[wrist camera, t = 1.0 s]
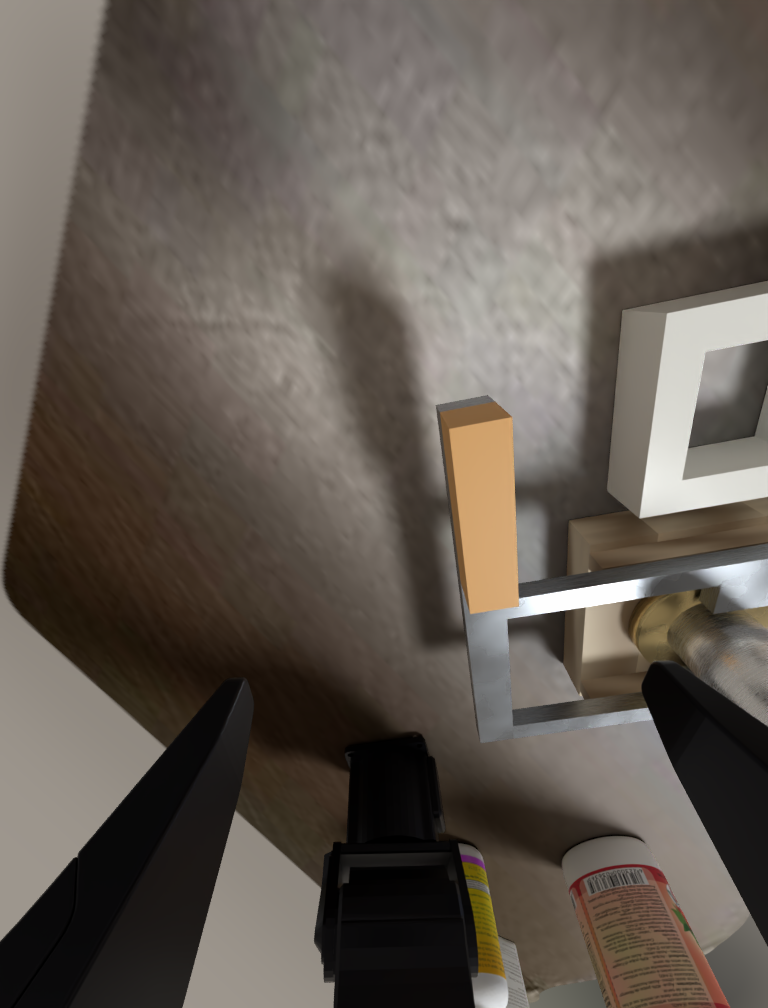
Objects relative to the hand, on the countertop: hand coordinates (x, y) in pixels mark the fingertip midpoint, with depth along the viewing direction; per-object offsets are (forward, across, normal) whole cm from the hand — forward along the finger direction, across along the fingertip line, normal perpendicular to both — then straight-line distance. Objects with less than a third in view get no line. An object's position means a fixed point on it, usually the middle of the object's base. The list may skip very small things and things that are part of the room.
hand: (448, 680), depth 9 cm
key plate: (+9, -11, +5) cm, 16 cm away
